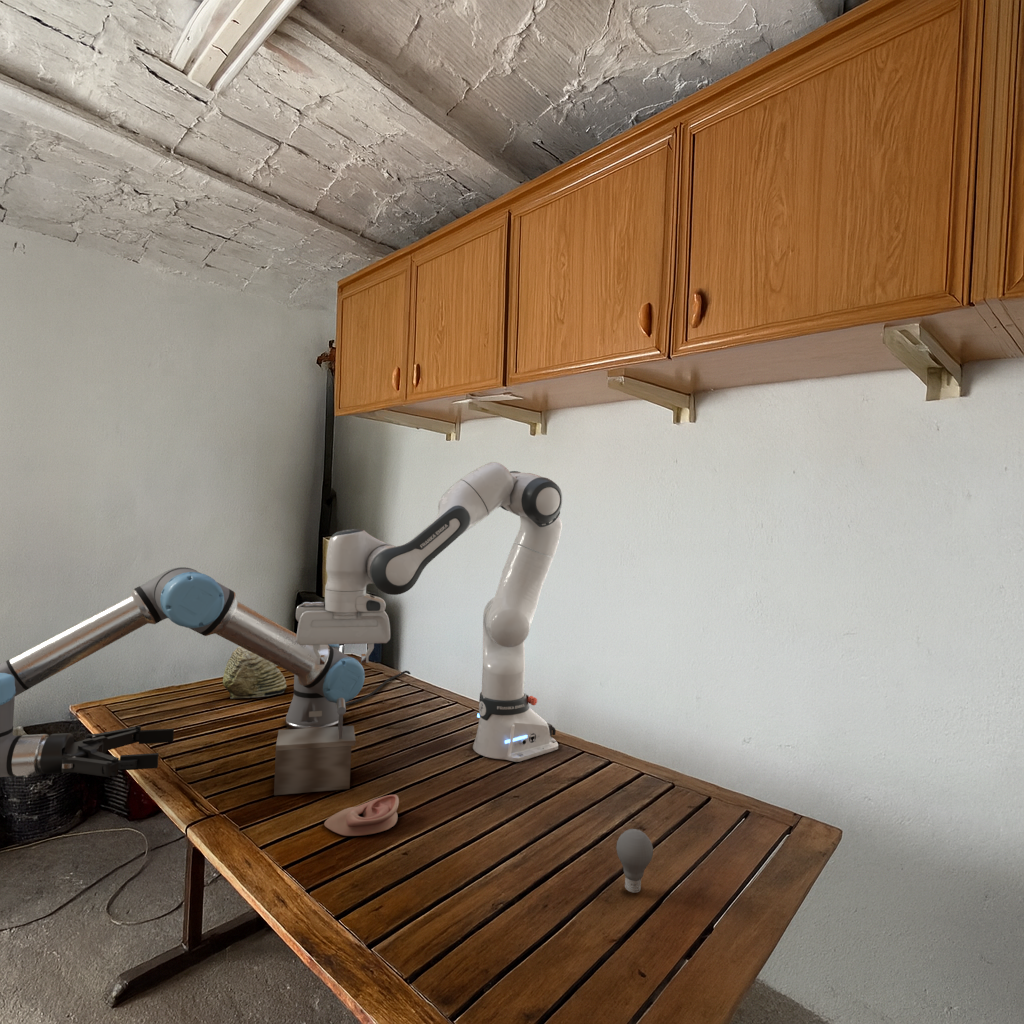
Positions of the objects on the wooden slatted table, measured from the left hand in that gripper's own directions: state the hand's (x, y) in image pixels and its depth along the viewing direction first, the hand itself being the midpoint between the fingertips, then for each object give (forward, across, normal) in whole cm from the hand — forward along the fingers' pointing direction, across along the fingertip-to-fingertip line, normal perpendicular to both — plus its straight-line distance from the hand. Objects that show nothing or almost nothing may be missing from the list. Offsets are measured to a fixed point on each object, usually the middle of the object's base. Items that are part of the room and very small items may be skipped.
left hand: (166, 747), depth 131 cm
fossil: (+11, -66, -10) cm, 68 cm away
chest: (+29, 0, -10) cm, 31 cm away
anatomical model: (+39, +20, -10) cm, 45 cm away
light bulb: (+81, +52, -10) cm, 97 cm away
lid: (+30, 0, 0) cm, 30 cm away
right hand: (+35, 0, +17) cm, 38 cm away
